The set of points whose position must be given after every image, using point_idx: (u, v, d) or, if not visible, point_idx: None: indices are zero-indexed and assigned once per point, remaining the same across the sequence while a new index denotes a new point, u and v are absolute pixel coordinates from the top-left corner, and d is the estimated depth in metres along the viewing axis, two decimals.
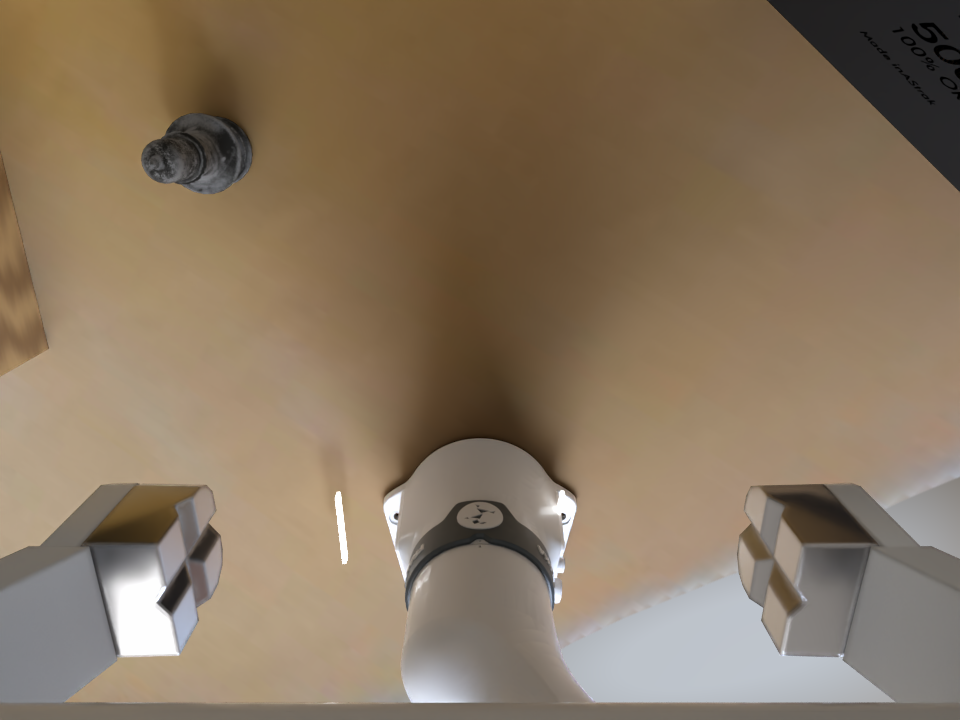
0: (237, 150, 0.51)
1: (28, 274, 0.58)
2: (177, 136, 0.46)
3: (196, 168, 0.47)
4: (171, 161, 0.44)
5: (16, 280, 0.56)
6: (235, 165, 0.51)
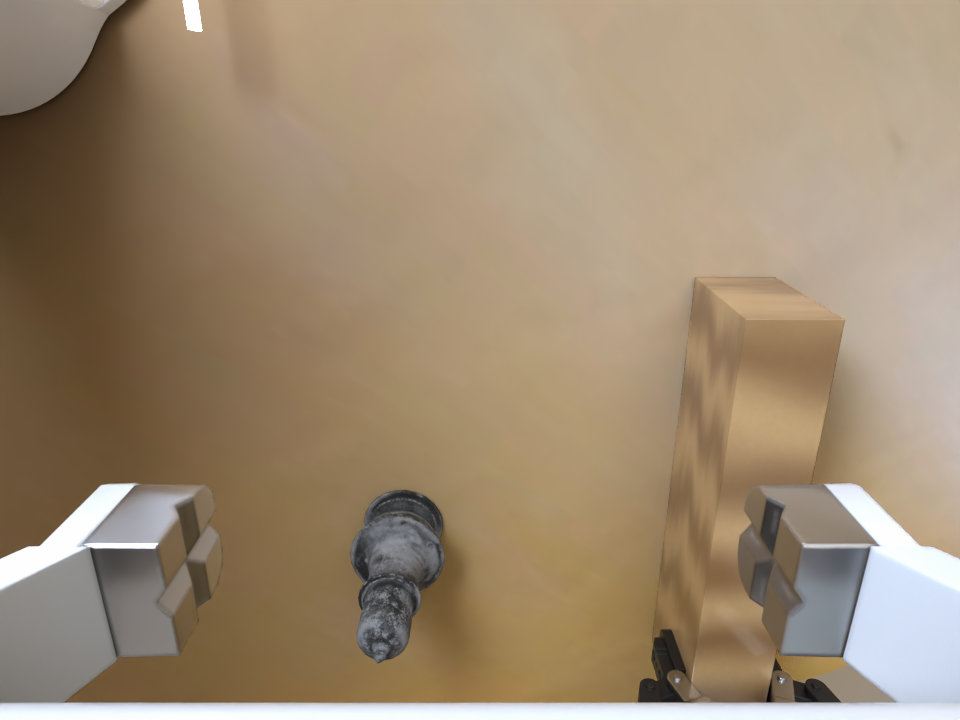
0: (353, 562, 0.42)
1: (683, 387, 0.42)
2: None
3: (365, 598, 0.38)
4: (365, 646, 0.35)
5: (691, 396, 0.40)
6: (357, 547, 0.42)
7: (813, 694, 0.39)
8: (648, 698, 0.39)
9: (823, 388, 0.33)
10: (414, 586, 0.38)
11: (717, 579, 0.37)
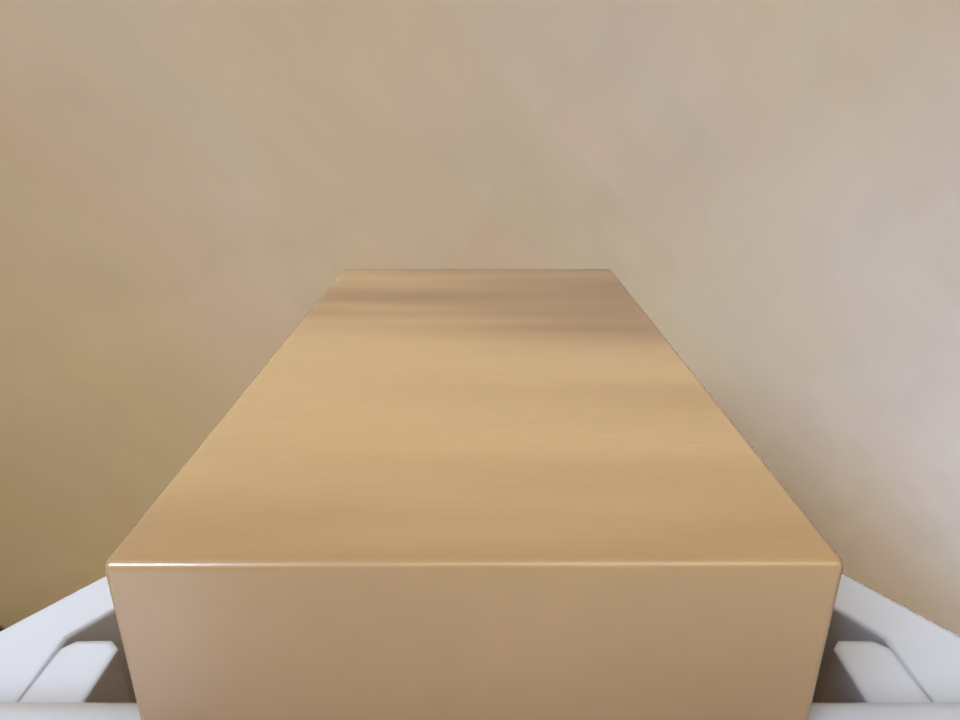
0: None
1: None
2: None
3: None
4: None
5: None
6: None
7: None
8: None
9: None
10: None
11: None
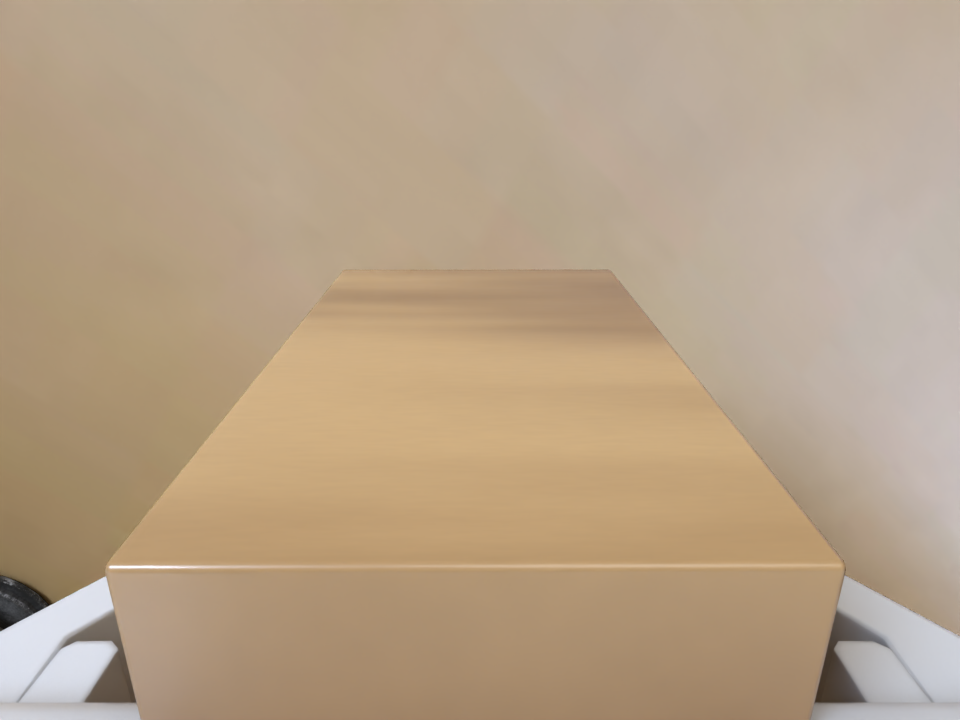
0: None
1: None
2: None
3: None
4: None
5: None
6: None
7: None
8: None
9: None
10: None
11: None
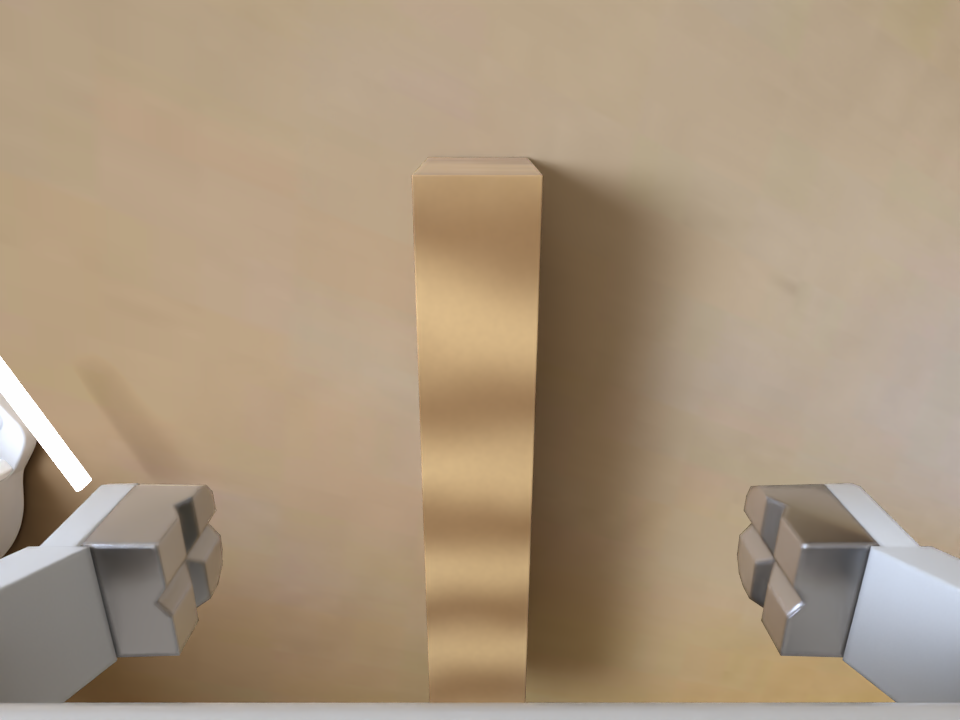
0: None
1: None
2: None
3: None
4: None
5: None
6: None
7: None
8: None
9: (529, 273, 0.25)
10: None
11: (438, 531, 0.29)
